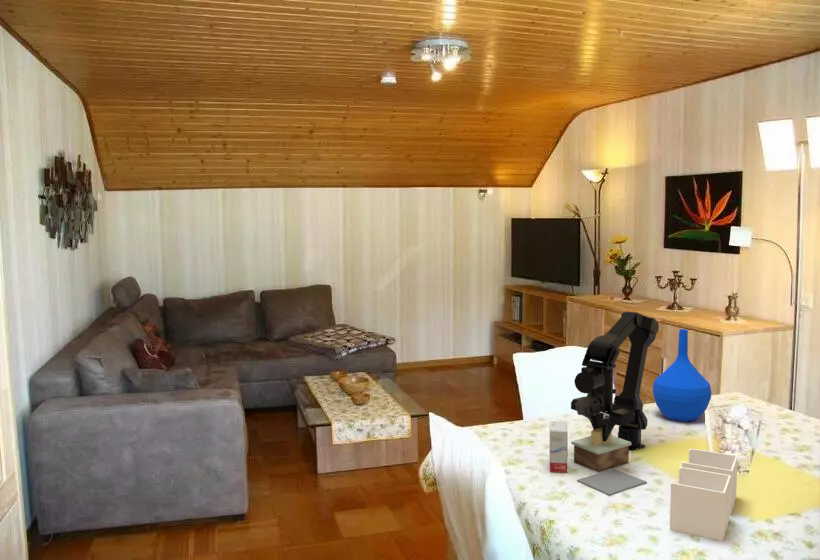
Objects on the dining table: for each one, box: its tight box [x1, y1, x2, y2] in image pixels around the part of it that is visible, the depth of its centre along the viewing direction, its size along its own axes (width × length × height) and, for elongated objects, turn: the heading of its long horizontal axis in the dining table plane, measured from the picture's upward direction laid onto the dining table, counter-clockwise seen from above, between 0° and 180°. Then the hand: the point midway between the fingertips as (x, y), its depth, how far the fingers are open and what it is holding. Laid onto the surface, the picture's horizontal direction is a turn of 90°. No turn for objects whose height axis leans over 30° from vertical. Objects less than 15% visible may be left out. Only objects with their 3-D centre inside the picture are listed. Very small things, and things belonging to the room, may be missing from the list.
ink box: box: [549, 421, 569, 474], centre depth 193 cm, size 9×5×12 cm, turn 168°
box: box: [573, 445, 630, 473], centre depth 196 cm, size 12×9×5 cm
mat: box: [576, 467, 648, 497], centre depth 182 cm, size 14×11×1 cm
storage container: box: [669, 448, 739, 541], centre depth 163 cm, size 25×11×11 cm, turn 149°
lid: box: [571, 428, 631, 455], centre depth 195 cm, size 13×10×5 cm
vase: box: [652, 328, 712, 422], centre depth 234 cm, size 18×18×30 cm
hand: (601, 440), depth 195 cm, fingers closed on lid
